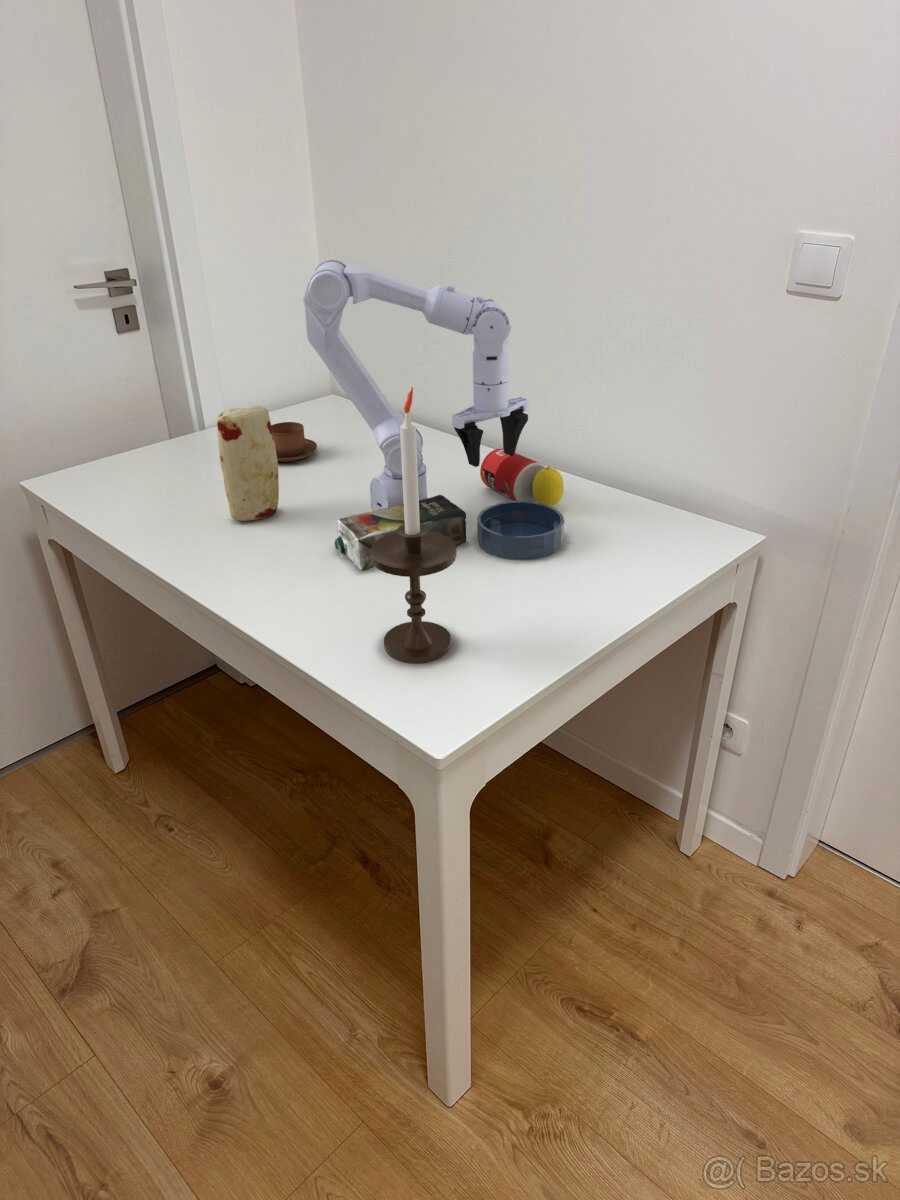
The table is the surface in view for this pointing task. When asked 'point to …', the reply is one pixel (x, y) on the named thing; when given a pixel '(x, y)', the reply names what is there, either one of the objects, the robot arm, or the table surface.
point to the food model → (248, 462)
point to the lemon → (548, 486)
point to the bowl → (520, 530)
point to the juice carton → (374, 525)
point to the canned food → (510, 474)
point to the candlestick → (413, 563)
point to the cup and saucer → (291, 442)
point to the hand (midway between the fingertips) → (491, 459)
